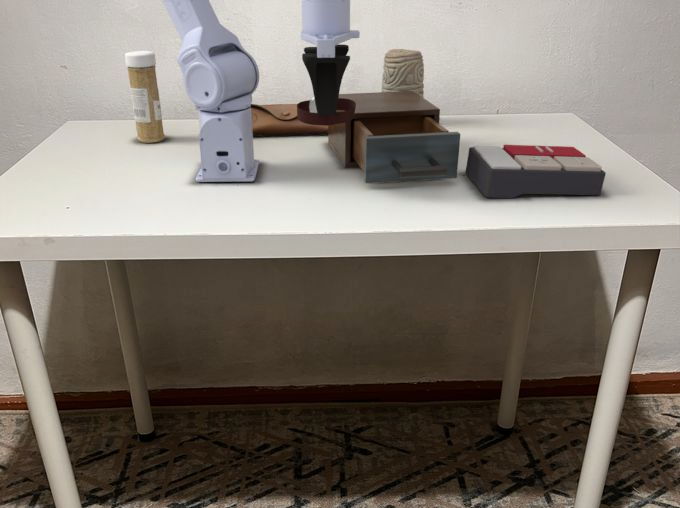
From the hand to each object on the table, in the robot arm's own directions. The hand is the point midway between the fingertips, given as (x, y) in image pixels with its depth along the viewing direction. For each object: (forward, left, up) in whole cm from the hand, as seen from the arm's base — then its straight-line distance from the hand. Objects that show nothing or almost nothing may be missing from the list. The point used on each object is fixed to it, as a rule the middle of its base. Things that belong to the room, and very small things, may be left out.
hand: (326, 110), depth 89 cm
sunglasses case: (+30, +7, -10) cm, 32 cm away
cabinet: (+16, -8, -10) cm, 20 cm away
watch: (0, 0, -2) cm, 2 cm away
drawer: (+3, -11, -9) cm, 14 cm away
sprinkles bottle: (+25, +29, -10) cm, 39 cm away
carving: (+35, -13, -10) cm, 39 cm away
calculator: (0, -27, -10) cm, 29 cm away
